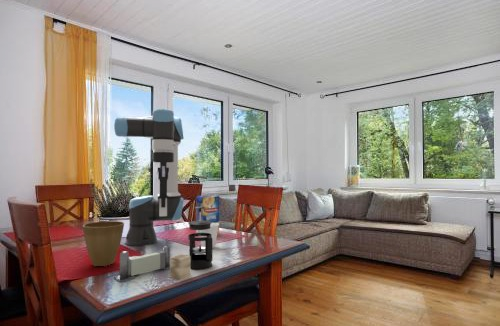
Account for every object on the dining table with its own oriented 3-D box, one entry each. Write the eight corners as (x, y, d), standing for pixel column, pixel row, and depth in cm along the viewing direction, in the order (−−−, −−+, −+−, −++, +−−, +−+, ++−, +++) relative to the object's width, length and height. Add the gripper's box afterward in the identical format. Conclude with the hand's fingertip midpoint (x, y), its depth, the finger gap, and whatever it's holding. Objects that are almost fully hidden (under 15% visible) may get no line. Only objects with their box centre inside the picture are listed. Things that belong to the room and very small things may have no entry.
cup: (215, 250, 143) (215, 226, 144) (195, 249, 145) (195, 225, 146) (221, 245, 153) (221, 222, 153) (202, 244, 155) (202, 222, 155)
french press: (181, 265, 121) (181, 206, 122) (200, 260, 128) (200, 204, 129) (200, 272, 113) (200, 209, 114) (220, 266, 120) (220, 207, 121)
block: (169, 277, 109) (169, 257, 109) (179, 273, 113) (179, 253, 113) (181, 280, 106) (181, 259, 106) (190, 275, 111) (190, 255, 111)
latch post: (164, 269, 117) (164, 248, 117) (159, 267, 119) (159, 246, 119) (174, 267, 119) (174, 246, 120) (168, 265, 122) (168, 244, 122)
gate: (131, 276, 108) (131, 259, 108) (128, 274, 110) (128, 258, 110) (165, 267, 117) (165, 252, 117) (161, 266, 119) (161, 250, 119)
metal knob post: (120, 282, 104) (120, 255, 104) (112, 278, 108) (112, 252, 108) (144, 276, 110) (144, 250, 110) (136, 272, 114) (136, 247, 114)
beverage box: (219, 234, 177) (219, 195, 178) (203, 237, 170) (203, 197, 170) (212, 232, 182) (212, 195, 183) (196, 235, 175) (196, 196, 175)
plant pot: (121, 268, 119) (122, 226, 119) (78, 271, 114) (78, 228, 115) (125, 257, 133) (125, 219, 133) (87, 260, 129) (87, 221, 129)
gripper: (174, 151, 109) (174, 218, 109) (172, 152, 122) (172, 212, 122) (152, 151, 107) (152, 219, 107) (152, 152, 120) (152, 213, 120)
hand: (163, 215), depth 115 cm, fingers closed
